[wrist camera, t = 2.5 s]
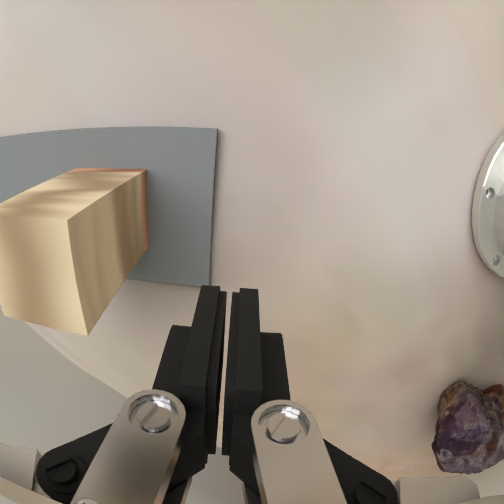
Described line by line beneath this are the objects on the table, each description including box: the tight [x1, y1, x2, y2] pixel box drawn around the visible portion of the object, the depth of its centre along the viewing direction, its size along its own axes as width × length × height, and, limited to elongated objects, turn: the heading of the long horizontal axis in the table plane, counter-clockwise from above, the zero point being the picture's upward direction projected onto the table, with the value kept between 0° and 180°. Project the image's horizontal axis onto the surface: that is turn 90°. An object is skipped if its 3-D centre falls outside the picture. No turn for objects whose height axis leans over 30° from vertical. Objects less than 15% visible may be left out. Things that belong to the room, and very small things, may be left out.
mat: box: [0, 127, 218, 287], centre depth 19 cm, size 19×10×1 cm, turn 85°
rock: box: [432, 382, 504, 474], centre depth 24 cm, size 12×9×10 cm
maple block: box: [0, 168, 148, 336], centre depth 15 cm, size 5×5×9 cm
